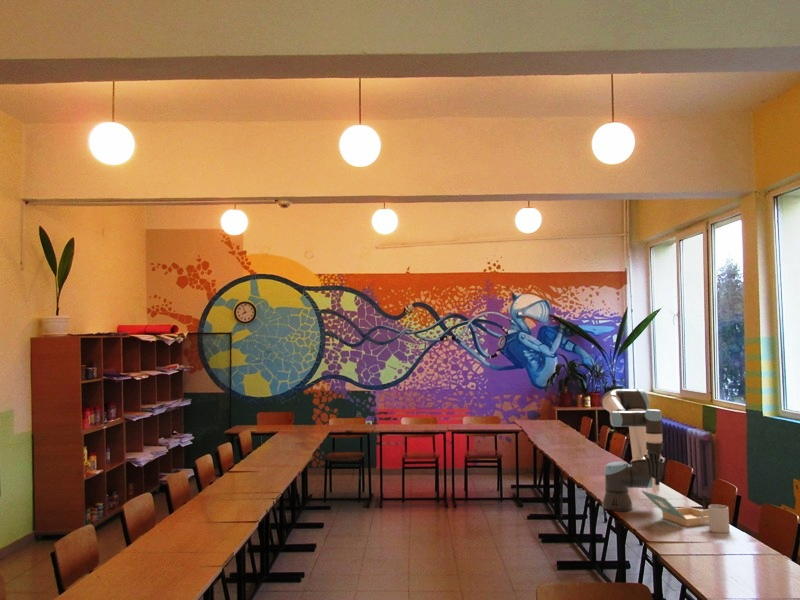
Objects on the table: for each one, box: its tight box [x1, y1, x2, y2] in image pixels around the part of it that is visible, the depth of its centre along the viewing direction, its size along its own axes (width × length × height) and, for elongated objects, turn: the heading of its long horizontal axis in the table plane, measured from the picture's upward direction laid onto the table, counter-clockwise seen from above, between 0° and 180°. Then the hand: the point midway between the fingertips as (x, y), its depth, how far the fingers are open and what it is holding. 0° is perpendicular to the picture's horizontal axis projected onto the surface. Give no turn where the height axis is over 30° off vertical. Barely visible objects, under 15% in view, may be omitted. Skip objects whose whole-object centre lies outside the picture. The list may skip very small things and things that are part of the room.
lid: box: [641, 490, 685, 519], centre depth 328 cm, size 16×16×1 cm
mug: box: [701, 503, 730, 534], centre depth 316 cm, size 12×8×11 cm
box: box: [661, 506, 709, 528], centre depth 333 cm, size 17×17×4 cm
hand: (655, 491), depth 328 cm, fingers closed
